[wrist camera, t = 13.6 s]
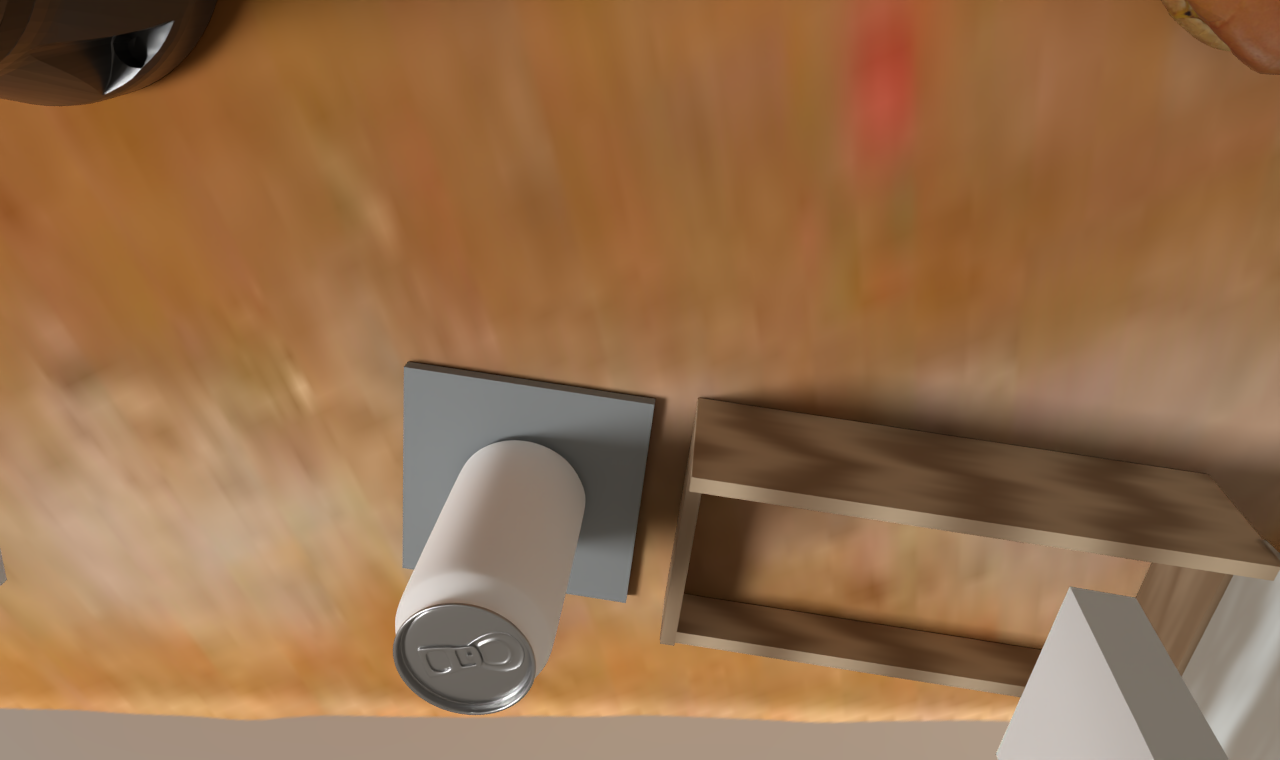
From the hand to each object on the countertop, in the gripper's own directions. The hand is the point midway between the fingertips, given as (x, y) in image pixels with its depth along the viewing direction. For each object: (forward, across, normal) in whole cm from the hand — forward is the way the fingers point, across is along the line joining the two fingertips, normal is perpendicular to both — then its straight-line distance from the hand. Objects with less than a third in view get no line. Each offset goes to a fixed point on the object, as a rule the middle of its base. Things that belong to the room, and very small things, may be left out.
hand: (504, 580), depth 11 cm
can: (+30, -4, -20) cm, 36 cm away
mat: (+31, -4, -20) cm, 37 cm away
